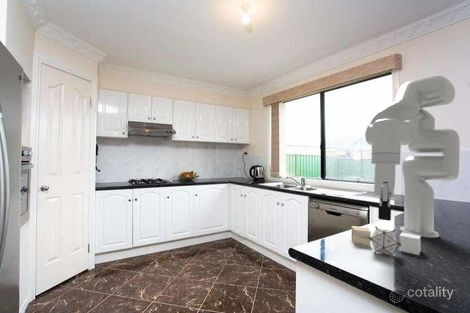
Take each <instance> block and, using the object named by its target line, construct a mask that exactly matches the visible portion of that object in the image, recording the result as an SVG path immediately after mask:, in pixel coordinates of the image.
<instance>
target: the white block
mask: <svg viewBox="0 0 470 313" xmlns="http://www.w3.org/2000/svg"><path fill="white" fill-rule="evenodd" d="M421 238H422V237H421V236H419V235H414V234H409V233H404V232H402V231H401V233H400V234H399V241H398V243H401V246H398V248H399V252H402V251H403V253H408V254H411V253H412V255H416V256H420V254H421V246H422V243H421Z"/></svg>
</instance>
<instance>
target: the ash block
mask: <svg viewBox="0 0 470 313" xmlns="http://www.w3.org/2000/svg"><path fill="white" fill-rule="evenodd" d="M371 233H372V232H371V230H370V228H368V227H364V226H362V227H361V226H356V225H355V226H353V225H351V239H352V240H351V241H352V243H353V244H354V245H357V244H364V245H363V246H366V245H370V246H371V243H372V241H371V240H370V239H369V238H368V237H370V238H371V237H372V234H371Z"/></svg>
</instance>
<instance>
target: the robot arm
mask: <svg viewBox="0 0 470 313" xmlns="http://www.w3.org/2000/svg"><path fill="white" fill-rule="evenodd" d="M455 96H456V90H455V87H454V85H453V83H452V82H451V81H450V80H449V79H448V78H446V77H444V76H443V75H442V76H441V75H433V76H428V77H423V78H419V79H414V80H411V81H407V82H405V83H404V84H402V85H401V86H400V87H399V90H398V91H397V94H396V96H395V98H394V100H393V103H392V104H390V105H388V106H386V107H385V108H383V109H382V110H380V111H378V112H377V113H376V114H374V115H373V116H372V117H371V119H370V120H369V122H368V125H367V127H366V130H365V133H364V134H365V135H364V136H365V138H364V139H365V141H366V143H367V144H368V145H370V146H371V165H374V175H373V176H374V177H373V178H374V181H373V182H374V185H373V186H374V187H373V195H374V196H375V197H377V196H378V195H379V205H378V210H377V211H378V213H377V214H378V220H383V221H391V220H392V206H391V198H393V197H394V194H395V184H396V166H400V165H401V169H402V174H403V180H404V181H403V182H404V203H403V204H404V207H403V208H404V215H403V216H404V218H403V219H404V220H403V224H404V225H403V226H399V231H400V232H401V233H402V232H403V233H409V234H414V235H419V236H421V238H429V239H431V238H432V239H433V238H434V239H435V238H439V237H440V234H439V232H437V231H435V230H434V229H435V228H434V227H435V226H434V225H435V223H434V221H435V218H434V216H435V214H434V213H435V191H434V189H433V187H432V186H431V185H430V184H429V182H428V181H443V182H444V181H445V182H448V181H449V182H450V181H455V180H457V178H458V177H459V173H460V149H461V148H460V146H461V145H460V144H461V143H460V136H459V133H458V132H457V131H456V130H455V129H451V128H441V129H436V128H435V127H436V126H435V125H436V124H435V123H436V118H435V117H434V116H433V115H432V113H430V112H429V111H428V110H426V109H425V108H431V107H437V106H440V107H441V106H446V105H450V104H451V103H452V102H454V99H455ZM401 146H408V147H407V148H408V150H409V152H411V153H414V154H440V155H413V156H407V157H406V158H404V159H403V161H402V163H401ZM441 154H442V155H441Z"/></svg>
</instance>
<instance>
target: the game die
mask: <svg viewBox="0 0 470 313" xmlns="http://www.w3.org/2000/svg"><path fill="white" fill-rule="evenodd" d="M395 232H396V229H393V230H389V229H384V228H383V229H382V228H378V227H377V226H375V231H374V232H373V233H372V234H371V238H370V237H368V238H369V239H370V240H371V243H372V246H373V249H374V252H373V255H375V254H376V253H379V254H384V255H388V256H392V258H393V259H395V258H396V256H395V253H396V252H397V249H398V248H399V246H401V243H399V241H398V239H397V236H396V234H395Z"/></svg>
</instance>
